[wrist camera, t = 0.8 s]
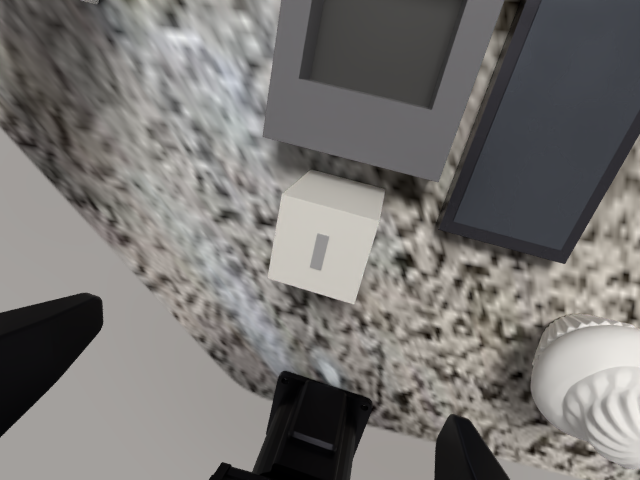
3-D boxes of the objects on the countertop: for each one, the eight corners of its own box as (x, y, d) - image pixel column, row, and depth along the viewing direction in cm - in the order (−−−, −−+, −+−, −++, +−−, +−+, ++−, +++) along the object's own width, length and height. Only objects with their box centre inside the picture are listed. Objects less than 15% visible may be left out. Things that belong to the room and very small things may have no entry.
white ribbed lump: (635, 275, 17) (767, 381, 11) (650, 373, 19) (772, 513, 13) (499, 304, 19) (545, 407, 13) (524, 390, 21) (575, 518, 15)
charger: (365, 256, 20) (353, 305, 16) (297, 236, 20) (266, 279, 16) (385, 188, 18) (379, 221, 14) (311, 169, 19) (281, 194, 14)
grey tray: (434, 170, 17) (438, 182, 15) (279, 131, 18) (261, 136, 16) (538, -126, 13) (566, -171, 11) (324, -160, 14) (309, -208, 11)
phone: (556, 254, 18) (565, 264, 17) (436, 222, 18) (438, 229, 17) (719, -38, 13) (745, -48, 12) (546, -68, 13) (558, -81, 12)
